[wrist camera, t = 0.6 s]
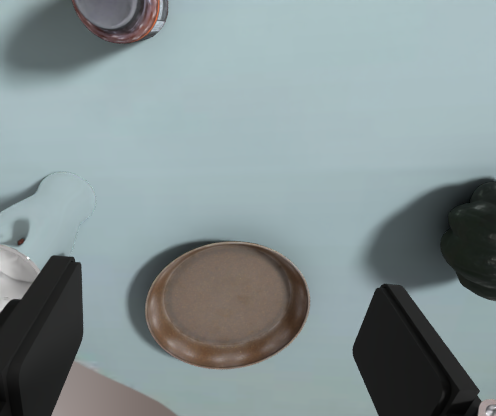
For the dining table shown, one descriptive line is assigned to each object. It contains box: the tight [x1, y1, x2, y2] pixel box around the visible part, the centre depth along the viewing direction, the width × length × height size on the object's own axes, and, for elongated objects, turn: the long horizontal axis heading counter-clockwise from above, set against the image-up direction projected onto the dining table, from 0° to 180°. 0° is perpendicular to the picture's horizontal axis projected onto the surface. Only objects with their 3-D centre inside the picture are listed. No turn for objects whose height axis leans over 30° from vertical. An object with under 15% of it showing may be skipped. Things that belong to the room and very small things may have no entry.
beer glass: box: [0, 172, 97, 312], centre depth 34 cm, size 7×7×15 cm
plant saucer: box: [145, 241, 310, 369], centre depth 47 cm, size 21×21×3 cm
